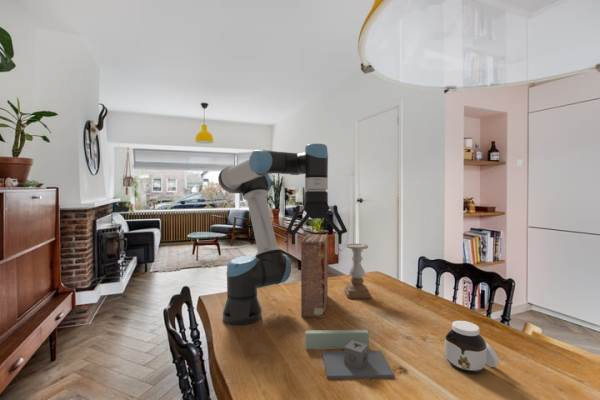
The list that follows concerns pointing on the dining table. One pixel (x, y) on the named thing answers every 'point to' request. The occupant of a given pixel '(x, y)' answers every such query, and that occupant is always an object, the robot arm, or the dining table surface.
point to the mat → (339, 370)
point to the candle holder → (357, 275)
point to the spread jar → (468, 348)
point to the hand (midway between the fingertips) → (316, 254)
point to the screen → (334, 338)
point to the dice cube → (356, 354)
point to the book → (314, 275)
